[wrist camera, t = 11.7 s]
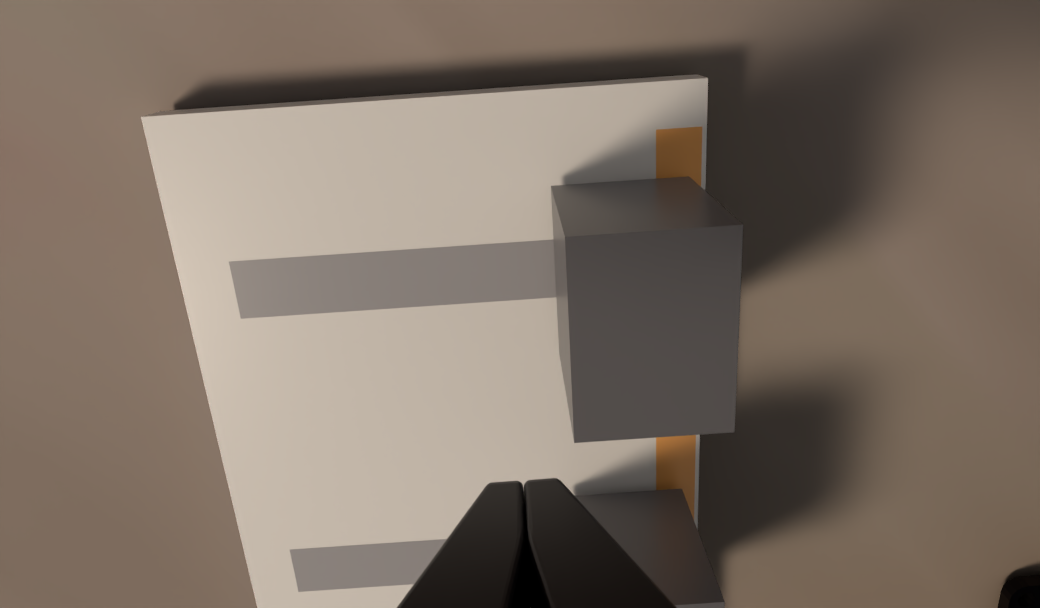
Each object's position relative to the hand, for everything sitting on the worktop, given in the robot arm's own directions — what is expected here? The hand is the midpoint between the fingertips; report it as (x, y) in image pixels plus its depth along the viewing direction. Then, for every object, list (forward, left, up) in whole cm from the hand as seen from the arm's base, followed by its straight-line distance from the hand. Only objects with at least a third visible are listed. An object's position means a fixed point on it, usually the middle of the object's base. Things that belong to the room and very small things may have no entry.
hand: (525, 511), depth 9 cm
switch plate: (+2, +4, -10) cm, 11 cm away
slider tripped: (-2, 0, -9) cm, 9 cm away
